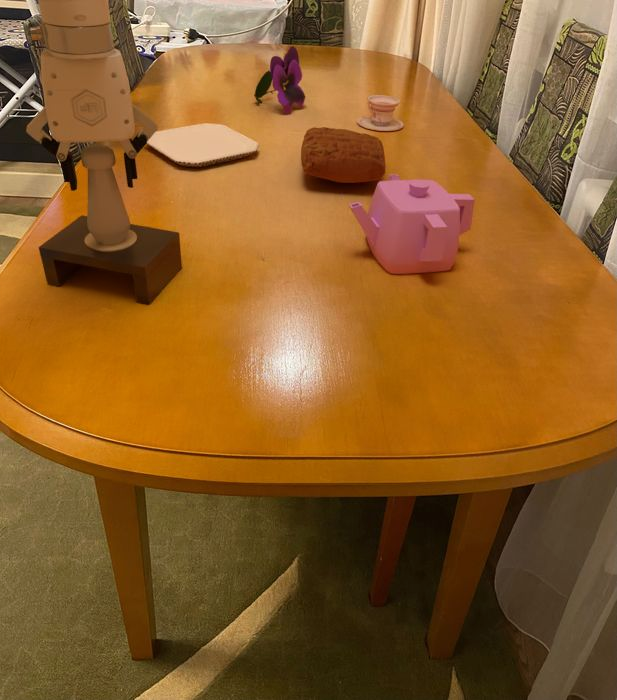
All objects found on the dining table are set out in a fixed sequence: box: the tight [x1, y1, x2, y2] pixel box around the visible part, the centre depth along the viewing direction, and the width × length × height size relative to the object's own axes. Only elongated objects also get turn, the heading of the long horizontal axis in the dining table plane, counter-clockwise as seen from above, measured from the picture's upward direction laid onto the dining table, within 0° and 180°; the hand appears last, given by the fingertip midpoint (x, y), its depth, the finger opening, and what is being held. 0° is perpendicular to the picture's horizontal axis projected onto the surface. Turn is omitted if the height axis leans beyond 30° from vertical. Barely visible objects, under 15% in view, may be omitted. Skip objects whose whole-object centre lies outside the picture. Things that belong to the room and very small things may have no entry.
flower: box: [253, 45, 306, 115], centre depth 160 cm, size 15×15×14 cm
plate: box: [146, 122, 260, 168], centre depth 133 cm, size 21×21×2 cm
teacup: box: [356, 94, 405, 132], centre depth 154 cm, size 12×12×6 cm
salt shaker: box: [80, 144, 131, 245], centre depth 82 cm, size 6×6×13 cm
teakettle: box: [348, 173, 475, 275], centre depth 97 cm, size 17×17×12 cm
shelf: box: [38, 215, 183, 306], centre depth 88 cm, size 16×11×6 cm
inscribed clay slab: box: [300, 126, 386, 184], centre depth 124 cm, size 22×17×8 cm
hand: (102, 184), depth 81 cm, fingers open, 6 cm apart
